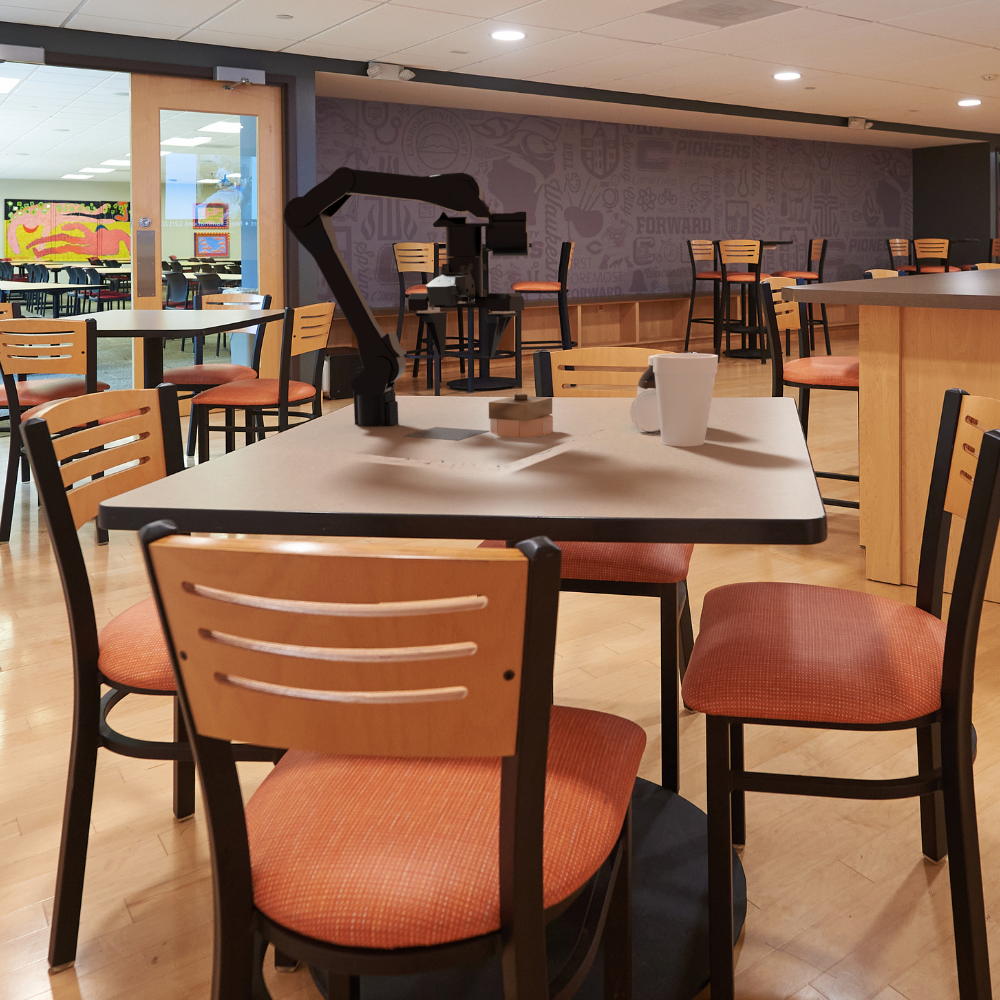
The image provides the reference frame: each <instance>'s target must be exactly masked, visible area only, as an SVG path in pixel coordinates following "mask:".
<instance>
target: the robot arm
mask: <svg viewBox="0 0 1000 1000" xmlns="http://www.w3.org/2000/svg"><path fill="white" fill-rule="evenodd" d="M355 195H357V196H358V195H359V196H367V197H376V198H385V199H393V200H403V201H414V202H422V203H425V204H430V205H433V206H435V207H439V208H443V209H446V210H448V211H452V212H456V213H459V214H462V215H464V214H472V215H473V216H475V217H476V218H477V219H479V220H481V221H488V222H487V223H485V222H478V223H477V222H476V223H474V222H473V223H472V222H469V218H468V217H467V216H449V215H448V213H447V212H444V211H441V213H440V216H439V217H438V218H437V219H436V220H435V221H434V222H433V223H432V226H433V228H437V229H445V255H446V256H445V261H446V263H442V264H441V268H440V270H441V271H440V272H441V273H440V275H439V276H437V277H435V278H434V279H432V280H431V281H430V282H428V283H427V284H426V285H425V287H426V288H425V289H426V292H413V293H410V294H409V295H408V298H407V300H406V302H407V304H406V305H407V311H408V312H409V311H411V312H413V311H414V316H415V317H419V318H421V320H422V321H423V322H424V323H425V325H426V326H427V329H428V331H429V334H430V335H431V337H432V340H433V343H434V346H435V348H436V351H437V354H438V356H439V357H443V356H445V352H446V345H447V343H446V342H447V326H448V325H447V323H448V319H447V318H448V312H447V311H441V310H443V309H444V308H448V309H449V308H450V309H451V308H453V309H454V308H457V309H459V308H463V309H466V308H468V309H469V308H473V309H477V308H479V309H482V308H483V309H484V308H485V309H487V310H488V311H489V312H491V313H484V317H485V320H486V322H487V355H488V358H490V359H491V358H494V357H495V355H496V351H497V349H498V347H499V345H500V342H501V339H502V337H503V335H504V332H505V331H506V329H507V327H508V325H509V323H510V321H511V319H512V318H513V317H517V316H518V312H519V311H525V299H524V296H523V294H522V293H521V292H490V293H489V292H487V291H488V290H487V289H484V287H483V286H484V284H483V283H484V282H483V281H484V280H483V271H487V263H483V231H482V230H483V229H484V228H485V229H484V231H485V232H484V233H485V234H484V235H485V236H484V237H485V238H484V241H485V250H486V251H492V252H491V253H492V257H493V258H500V257H505V258H506V257H507V258H508V257H509V258H510V257H511V258H512V257H513V258H514V257H529V254H530V233H529V232H528V231H529V230H528V229H529V227H528V224H529V223H528V213H527V211H515V212H504V213H502V212H500V213H499V212H498V213H493V211H492V210H493V209H492V207H490V206H488V205H487V203H486V201H484V199H483V198H484V197H483V189H482V186H481V184H480V183H479V182H478V181H477V179H476V178H474V176H472V175H471V174H469V173H464V172H455V173H453V172H452V173H451V172H450V173H442V174H441V173H440V174H434V175H426V176H425V175H424V176H422V175H421V176H420V175H410V174H401V173H392V172H381V171H372V170H364V169H363V170H362V169H355V168H354V169H353V168H350V167H348V166H340V167H339V168H336V169H335V171H333V173H332V174H330V175H329V176H328V177H327V178H325V179H324V180H323V181H321V182H319V183H318V184H316V185H315V186H314V187H312V188H311V189H310V190H309V191H307V192H306V193H305V194H303V196H297V197H294V198H292V199H290V201H288V203H287V204H286V205H285V208H284V212H283V221H284V224H285V225H286V227H287V229H288V230H289V231H290V232H291V233H292V234H293V236H294V237H295V238H296V241H298V242H299V244H300V245H301V246H302V247H303V248H304V249H305V250H306V251H307V252H308V253H309V254H310V255H311V256H312V258H313V259H314V261H315V262H316V265H317V267H318V268H319V270H320V273H321V274H322V276H323V278H324V280H325V281H326V283H327V286H328V287H329V290H330V291H331V292H332V295H333V297H334V298H335V300H336V303H337V304H338V306H339V308H340V310H341V312H342V314H343V315H344V317H345V320H346V321H347V323H348V325H349V327H350V329H351V331H352V333H353V335H354V338H355V340H356V346H357V349H358V356H359V358H360V362H361V365H362V368H363V369H362V370H361V372H360V373H359V374H358V375H357V376H356V377H355V378H354V379H353V380H352V381H351V382H350V386H351V388H352V391H353V410H354V411H353V412H354V413H353V414H354V415H353V417H354V425H356V426H357V425H358V426H360V427H368V428H369V427H370V428H373V427H375V428H377V427H393V426H398V425H399V405H398V404H399V403H398V401H397V399H396V392H395V391H391V390H394V386H395V384H396V381H397V380H398V379H400V378H401V377H402V376H403V375H404V373H405V370H406V367H407V361H406V358H405V355H406V354H407V351H406V350H405V349H404V348H403V347H402V346H401V344H400V341H399V338H398V336H397V333H396V331H392V332H388V333H386V331H384V329H382V328H381V326H380V325H379V324H378V322H377V320H376V318H375V316H374V314H373V312H372V310H371V308H370V306H369V305H368V304H369V303H368V302H367V300H366V298H365V297H364V295H363V293H362V291H361V289H360V287H359V285H358V284H357V282H356V280H355V277H354V276H353V274H352V272H351V270H350V268H349V266H348V265H347V262H346V261H345V259H344V257H343V254H342V252H341V251H340V249H339V246H338V242H337V241H338V240H337V237H336V236H337V235H336V232H335V231H336V230H335V228H334V225H333V222H332V217H334V216H335V214H337V213H338V212H339V211H340V210H341V209H342V208H343V206H344V205H345V204H346V203H347V202H348V201H349V200H350V199H351V198H352V197H353V196H355ZM470 299H471V300H470ZM415 311H416V312H415Z"/></svg>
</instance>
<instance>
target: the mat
mask: <svg viewBox="0 0 1000 1000" xmlns="http://www.w3.org/2000/svg"><path fill="white" fill-rule="evenodd" d="M489 432H490V430H484V429H482V430H481V429H470V428H469V429H468V428H453V427H443V426H434V427H430V428H428V429H427V428H426V429H424V430H419V431H416V432H415V431H414V432H412V433H407V434H404V435H402V437H407V438H419V439H432V440H433V439H434V440H445V441H446V440H447V441H462V440H465V439H468V438H471V437H475V436H480V435H482V434H485V433H489Z"/></svg>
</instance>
